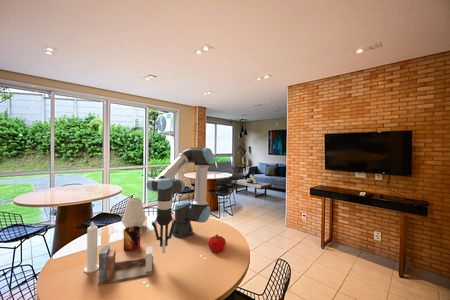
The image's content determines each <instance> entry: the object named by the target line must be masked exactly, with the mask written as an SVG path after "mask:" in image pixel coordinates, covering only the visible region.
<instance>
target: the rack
mask: <svg viewBox="0 0 450 300" xmlns="http://www.w3.org/2000/svg"><path fill="white" fill-rule="evenodd" d="M116 255H117V254H116V248H111V247H110V244H109V245H103V246H102V247H101V249H100V251H99V253H98V264H99V269H98V282H97V287H98V286H99V287H100V286H104V285H108V284H113V283H119V282H124V281H130V280H135V279H139V278H140V279H141V278H144V277H150V276H154V256H153V255H152V271H149V272H146V256H145V257H144V256H143V257H139V258H132V259H126V260H119V261H116Z"/></svg>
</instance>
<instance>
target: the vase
mask: <svg viewBox="0 0 450 300" xmlns="http://www.w3.org/2000/svg"><path fill="white" fill-rule="evenodd" d="M146 219H147V217H146V214H145V211H144V206H143V203H142V200H141V197H131V198H128V200H127V203H126V206H125V209H124V213H123V216H122V219H121V223H122V225H123V226H124V229H125V228H127V227H131V226H139V227H140V229H142V227H143V225H144V223H145V222H146Z"/></svg>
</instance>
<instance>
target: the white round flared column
mask: <svg viewBox="0 0 450 300" xmlns="http://www.w3.org/2000/svg"><path fill="white" fill-rule="evenodd" d="M98 228H99V227H98V226H97V225H95V223H94V221H91V224H90V225H89V227H87V229H86V233H87V234H86V235H87V236H86V266H85V267H84V268H83V272H84V273H85V274H89V273H90V274H92V273H94V272H97V271H99V263H98V231H99V230H98Z"/></svg>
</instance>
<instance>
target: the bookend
mask: <svg viewBox="0 0 450 300" xmlns="http://www.w3.org/2000/svg"><path fill="white" fill-rule="evenodd" d="M152 256H153V246H146V247H145V257H146V272H149V271H152Z"/></svg>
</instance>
